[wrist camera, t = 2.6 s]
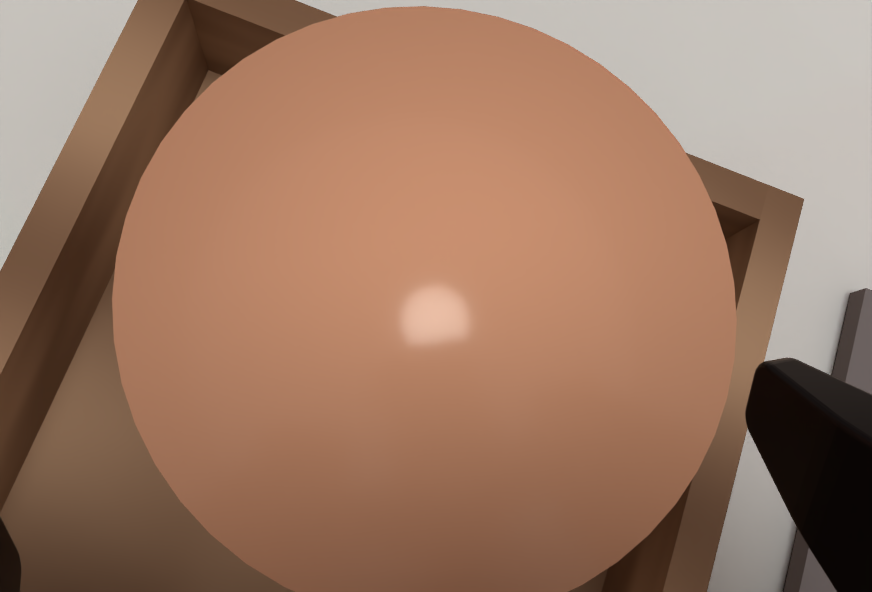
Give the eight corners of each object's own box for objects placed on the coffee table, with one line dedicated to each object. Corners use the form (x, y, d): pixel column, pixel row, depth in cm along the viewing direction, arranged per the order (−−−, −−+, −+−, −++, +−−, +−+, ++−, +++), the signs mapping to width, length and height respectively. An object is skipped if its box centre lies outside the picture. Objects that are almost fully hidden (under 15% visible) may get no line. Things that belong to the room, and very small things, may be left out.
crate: (560, 846, 17) (619, 943, 13) (-88, 624, 16) (-202, 667, 13) (723, 244, 20) (804, 198, 17) (193, 40, 19) (164, -52, 16)
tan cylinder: (422, 538, 17) (643, 716, 5) (236, 471, 17) (-6, 487, 5) (483, 355, 18) (796, 131, 6) (309, 291, 18) (263, -79, 6)
